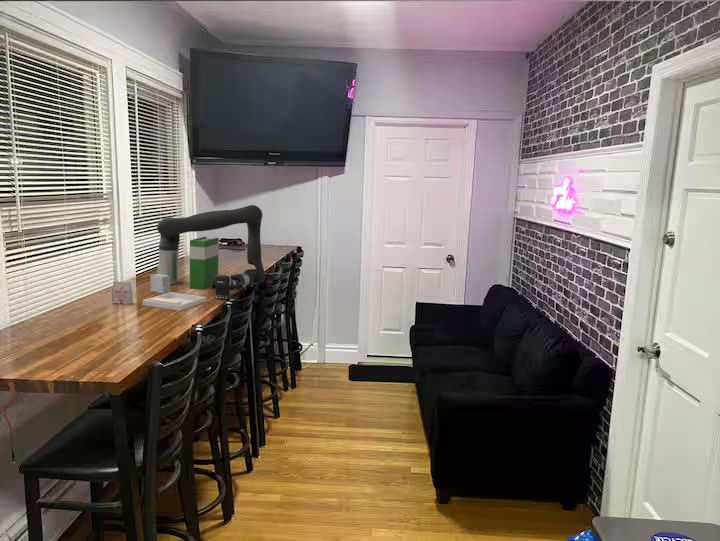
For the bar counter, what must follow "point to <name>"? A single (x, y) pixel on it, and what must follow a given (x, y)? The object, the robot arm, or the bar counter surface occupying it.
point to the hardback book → (203, 262)
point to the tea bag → (122, 292)
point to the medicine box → (160, 283)
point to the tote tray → (186, 299)
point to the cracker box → (167, 301)
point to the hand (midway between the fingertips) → (220, 287)
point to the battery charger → (222, 286)
